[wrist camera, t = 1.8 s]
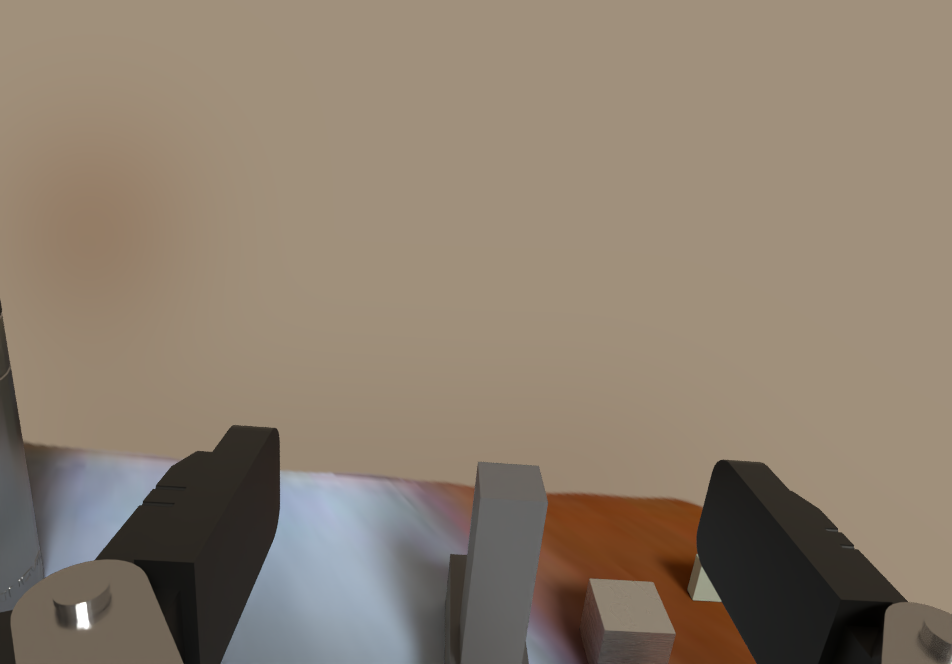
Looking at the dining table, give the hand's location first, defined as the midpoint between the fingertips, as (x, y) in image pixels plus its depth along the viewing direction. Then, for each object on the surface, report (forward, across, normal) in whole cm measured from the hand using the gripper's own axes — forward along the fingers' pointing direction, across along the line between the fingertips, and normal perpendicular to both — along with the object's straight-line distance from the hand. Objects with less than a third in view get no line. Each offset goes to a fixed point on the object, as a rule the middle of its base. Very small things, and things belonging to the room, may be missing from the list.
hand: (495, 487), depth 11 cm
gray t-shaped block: (+15, -3, +23) cm, 28 cm away
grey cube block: (+18, -11, +23) cm, 32 cm away
